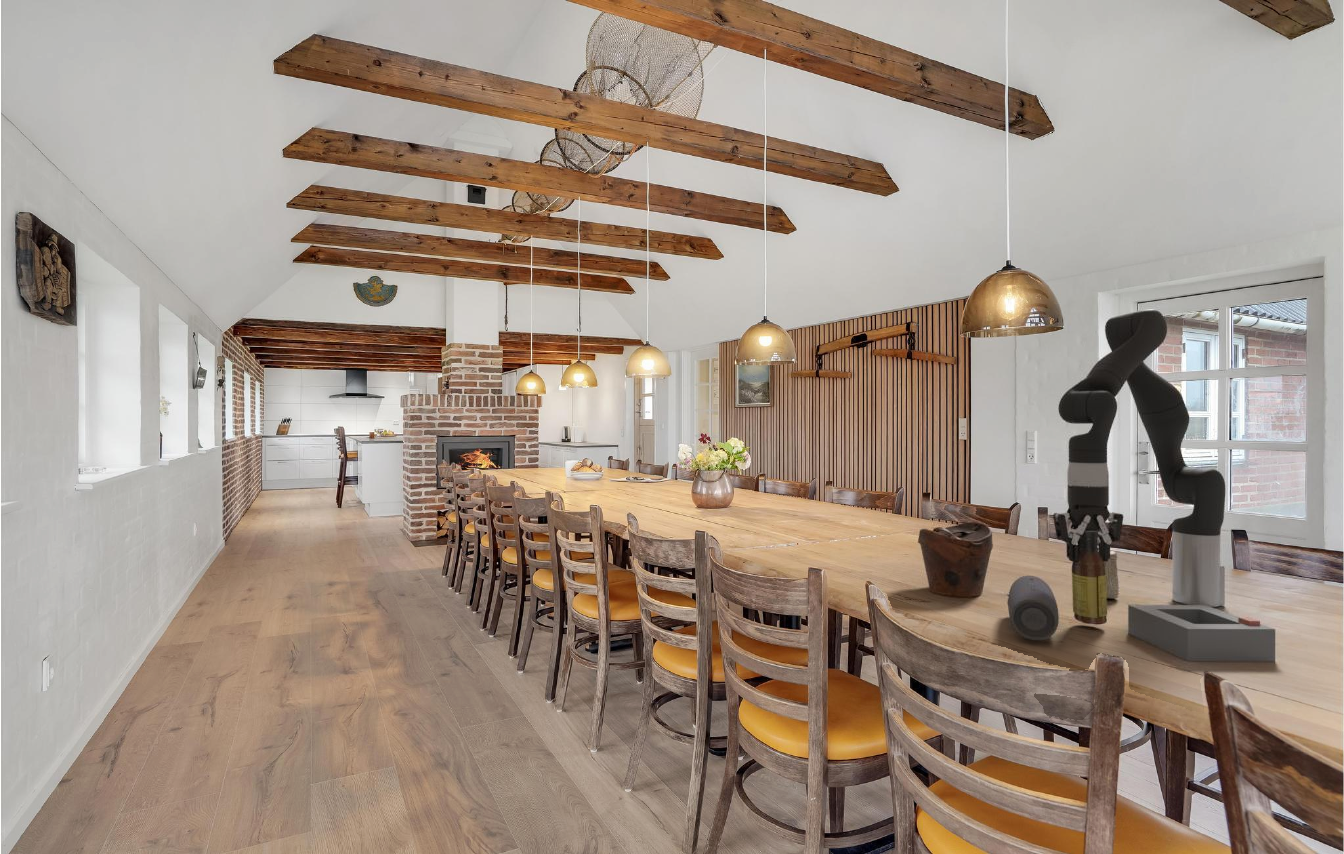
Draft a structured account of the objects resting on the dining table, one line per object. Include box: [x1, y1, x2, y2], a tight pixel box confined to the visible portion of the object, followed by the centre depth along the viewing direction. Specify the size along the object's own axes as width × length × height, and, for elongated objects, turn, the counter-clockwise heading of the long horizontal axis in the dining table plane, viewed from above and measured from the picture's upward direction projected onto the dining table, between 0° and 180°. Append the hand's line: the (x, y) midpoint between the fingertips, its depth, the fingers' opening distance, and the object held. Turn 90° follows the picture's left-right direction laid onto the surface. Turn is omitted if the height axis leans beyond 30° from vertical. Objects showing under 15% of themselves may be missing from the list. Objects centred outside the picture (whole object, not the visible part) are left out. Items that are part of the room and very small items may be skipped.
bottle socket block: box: [1127, 604, 1276, 663], centre depth 128 cm, size 16×16×7 cm
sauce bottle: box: [1071, 530, 1108, 625], centre depth 140 cm, size 7×6×20 cm
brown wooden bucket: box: [917, 521, 994, 598], centre depth 170 cm, size 18×20×18 cm
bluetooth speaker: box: [1007, 575, 1060, 641], centre depth 138 cm, size 23×9×10 cm, turn 152°
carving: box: [1104, 549, 1120, 600], centre depth 164 cm, size 6×8×12 cm
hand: (1088, 560), depth 140 cm, fingers closed on sauce bottle, 6 cm apart
